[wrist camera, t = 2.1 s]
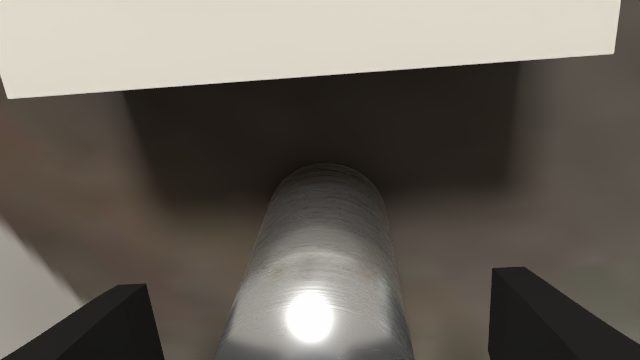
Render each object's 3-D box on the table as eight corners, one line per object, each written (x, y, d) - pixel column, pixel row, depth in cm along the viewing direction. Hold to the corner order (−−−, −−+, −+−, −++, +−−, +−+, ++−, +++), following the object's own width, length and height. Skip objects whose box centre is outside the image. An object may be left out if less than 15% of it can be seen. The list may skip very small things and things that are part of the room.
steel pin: (388, 267, 15) (420, 472, 9) (274, 272, 16) (224, 475, 9) (384, 159, 14) (418, 304, 8) (260, 166, 14) (190, 313, 8)
